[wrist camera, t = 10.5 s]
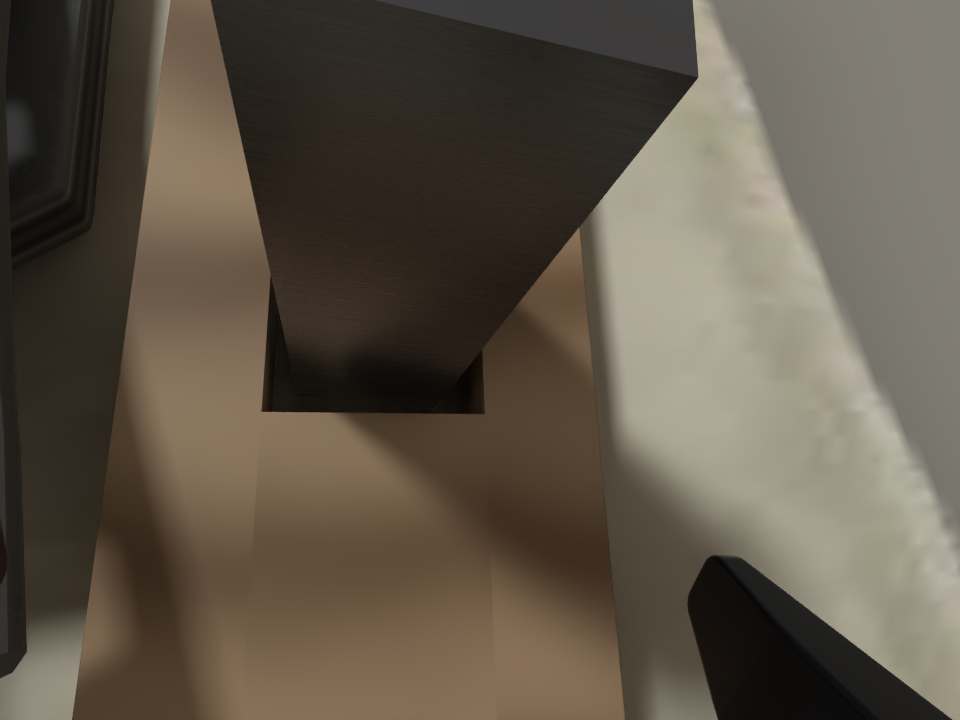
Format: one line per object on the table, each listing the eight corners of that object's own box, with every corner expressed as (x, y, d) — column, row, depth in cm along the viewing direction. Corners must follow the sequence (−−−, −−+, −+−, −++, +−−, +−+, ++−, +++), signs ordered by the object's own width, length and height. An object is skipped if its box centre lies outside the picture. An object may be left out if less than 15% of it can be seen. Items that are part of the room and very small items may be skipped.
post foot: (586, 723, 17) (628, 753, 14) (102, 781, 14) (57, 829, 12) (536, 71, 23) (559, 18, 21) (194, 19, 20) (177, -50, 18)
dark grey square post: (433, 409, 18) (698, 77, 5) (297, 396, 17) (202, -40, 4) (442, 288, 19) (675, -229, 6) (315, 270, 19) (282, -368, 6)
